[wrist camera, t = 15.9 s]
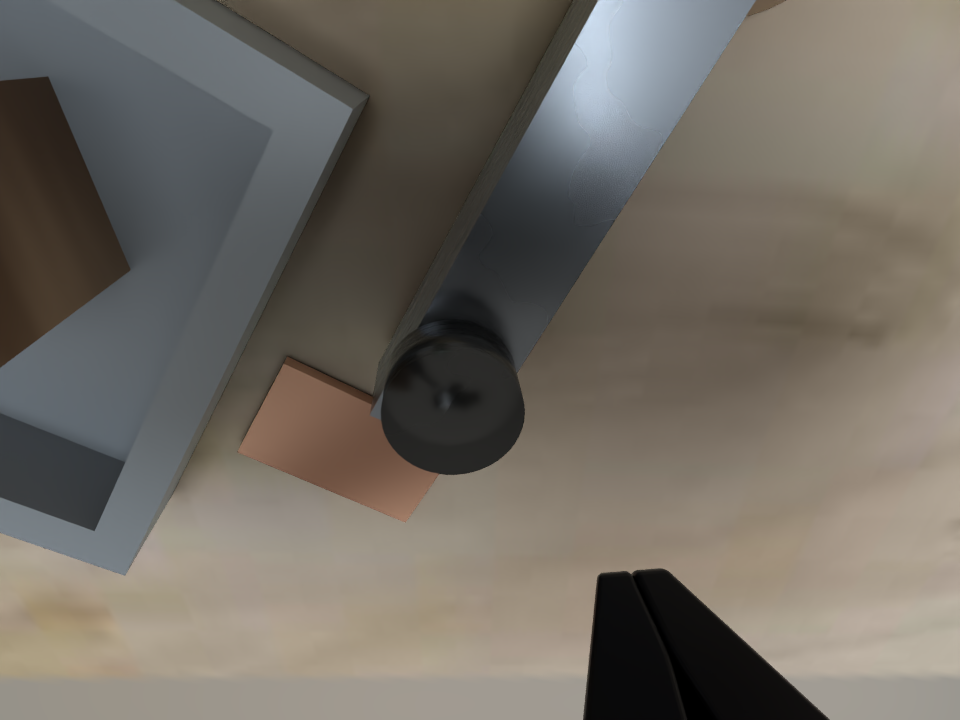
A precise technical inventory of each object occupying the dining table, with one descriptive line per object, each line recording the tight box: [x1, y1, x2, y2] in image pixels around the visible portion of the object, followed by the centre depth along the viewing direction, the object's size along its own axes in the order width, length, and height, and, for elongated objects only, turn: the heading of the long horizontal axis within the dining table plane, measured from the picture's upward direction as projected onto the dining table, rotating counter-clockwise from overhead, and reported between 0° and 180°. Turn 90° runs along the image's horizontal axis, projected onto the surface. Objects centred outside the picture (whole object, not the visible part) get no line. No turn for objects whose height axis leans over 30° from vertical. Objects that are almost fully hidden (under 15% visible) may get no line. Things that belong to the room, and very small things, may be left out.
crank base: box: [237, 0, 786, 522], centre depth 14 cm, size 6×20×1 cm, turn 149°
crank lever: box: [370, 0, 756, 475], centre depth 11 cm, size 14×4×4 cm, turn 151°
